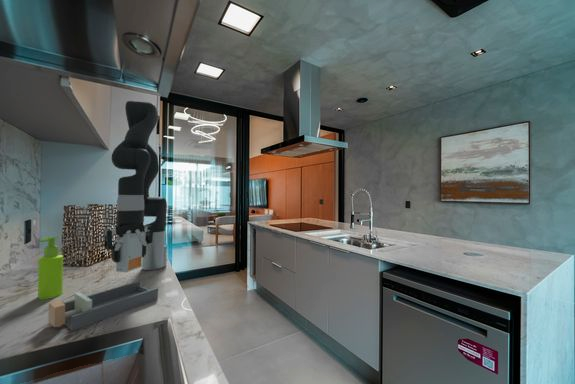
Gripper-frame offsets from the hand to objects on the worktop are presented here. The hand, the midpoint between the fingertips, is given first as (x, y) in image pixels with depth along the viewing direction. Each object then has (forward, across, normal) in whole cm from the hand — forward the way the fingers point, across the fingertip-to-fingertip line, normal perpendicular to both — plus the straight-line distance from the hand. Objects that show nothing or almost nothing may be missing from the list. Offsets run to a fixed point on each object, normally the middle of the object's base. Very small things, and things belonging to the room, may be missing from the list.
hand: (129, 259), depth 77 cm
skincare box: (+3, 0, 0) cm, 3 cm away
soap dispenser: (+14, +13, -26) cm, 32 cm away
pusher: (+13, +15, 0) cm, 20 cm away
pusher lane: (+14, +5, 0) cm, 15 cm away
